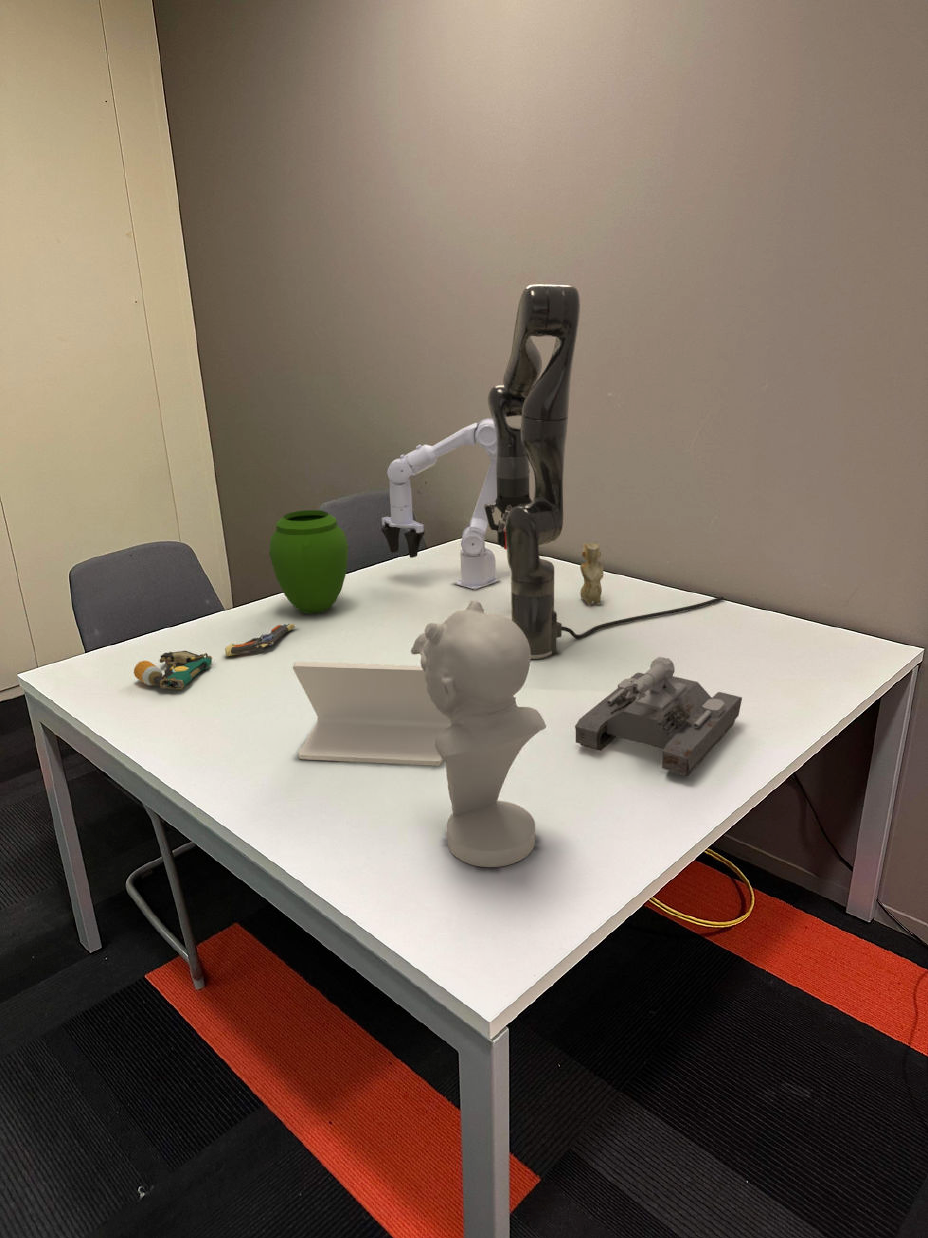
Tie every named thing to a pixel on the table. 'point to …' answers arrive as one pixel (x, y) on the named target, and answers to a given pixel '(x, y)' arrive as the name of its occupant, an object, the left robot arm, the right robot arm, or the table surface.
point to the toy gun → (259, 640)
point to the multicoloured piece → (172, 669)
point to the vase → (309, 559)
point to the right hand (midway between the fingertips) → (514, 545)
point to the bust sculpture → (481, 729)
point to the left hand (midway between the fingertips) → (403, 554)
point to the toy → (661, 717)
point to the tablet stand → (370, 713)
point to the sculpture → (591, 574)
